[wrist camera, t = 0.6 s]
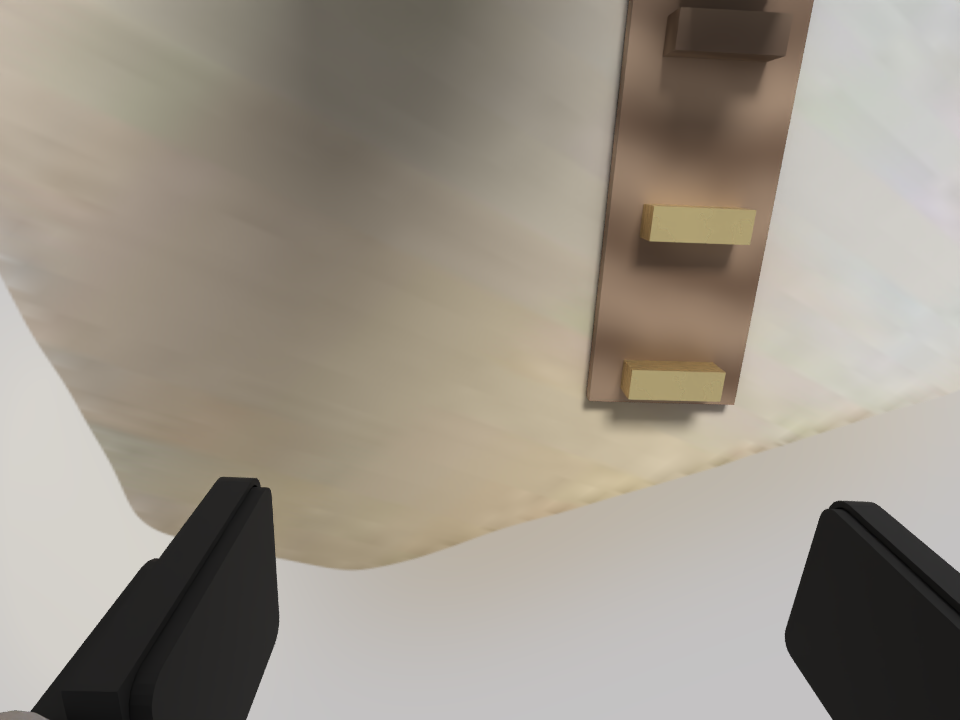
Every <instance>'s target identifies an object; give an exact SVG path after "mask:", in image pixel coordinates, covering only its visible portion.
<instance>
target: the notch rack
mask: <svg viewBox="0 0 960 720" xmlns="http://www.w3.org/2000/svg"><path fill="white" fill-rule="evenodd" d="M813 2H814V0H629V4H628V14H627V23H626V32H625V41H624V51H623V60H622V69H621V78H620V88H619V97H618V106H617V115H616V125H615V134H614V143H613V152H612V162H611V171H610V180H609V189H608V199H607V208H606V217H605V226H604V236H603V245H602V254H601V263H600V273H599V282H598V291H597V300H596V310H595V319H594V328H593V337H592V347H591V356H590V365H589V374H588V384H587V393H586V396H587V398H588V399H589V401H612V402H650V403H689V404H728V405H734V402H735V397H736V392H737V387H738V382H739V377H740V372H741V367H742V362H743V357H744V352H745V347H746V342H747V337H748V331H749V326H750V321H751V316H752V311H753V306H754V301H755V296H756V291H757V286H758V281H759V276H760V271H761V266H762V261H763V255H764V250H765V245H766V240H767V235H768V230H769V225H770V220H771V215H772V210H773V205H774V200H775V195H776V190H777V185H778V179H779V174H780V169H781V164H782V159H783V154H784V149H785V144H786V139H787V134H788V129H789V124H790V119H791V114H792V109H793V103H794V98H795V93H796V88H797V83H798V78H799V73H800V68H801V63H802V58H803V53H804V48H805V43H806V38H807V32H808V27H809V22H810V17H811V12H812V7H813Z"/></svg>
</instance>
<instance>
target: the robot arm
mask: <svg viewBox="0 0 960 720" xmlns="http://www.w3.org/2000/svg"><path fill="white" fill-rule="evenodd" d="M278 627H279V606H278V591H277V574H276V558H275V541H274V525H273V509H272V495H271V490H270V489H269V488H265V487H261V486H260V482H259V480H258V479H257V478H238V477H220V478H219V479H218V480H217V481H216V483H215V484H214V485H213V487H212V488H211V489H210V491H209V492H208V493H207V495H206V496H205V497H204V499H203V500H202V501H201V503H200V504H199V505H198V507H197V508H196V509H195V511H194V512H193V513H192V515H191V516H190V517H189V519H188V520H187V521H186V523H185V524H184V526H183V527H182V528H181V530H180V531H179V532H178V534H177V535H176V536H175V538H174V539H173V540H172V542H171V543H170V544H169V546H168V547H167V549H166V550H165V551H164V552H163V554H162V555H161V556H160V558H159V559H157V558H156V559H155V558H154V559H152V560H150V561H148V562H147V563H146V564H145V565H144V566H143V567H142V568H141V569H140V570H139V571H138V573H137V574H136V575H135V577H134V578H133V579H132V581H131V582H130V583H129V584H128V586H127V587H126V588H125V590H124V591H123V592H122V593H121V595H120V596H119V597H118V599H117V600H116V601H115V603H114V604H113V605H112V606H111V608H110V609H109V610H108V612H107V613H106V614H105V616H104V617H103V618H102V619H101V621H100V622H99V623H98V625H97V626H96V627H95V628H94V630H93V631H92V632H91V634H90V635H89V636H88V638H87V639H86V640H85V641H84V643H83V644H82V645H81V647H80V648H79V649H78V650H77V652H76V653H75V654H74V656H73V657H72V658H71V660H70V661H69V662H68V663H67V665H66V666H65V667H64V669H63V670H62V671H61V673H60V674H59V675H58V676H57V678H56V679H55V680H54V682H53V683H52V684H51V685H50V687H49V688H48V690H47V691H46V692H45V693H44V695H43V696H42V697H41V698H40V700H39V701H38V702H37V704H36V705H35V706H34V708H33V709H32V710H31V712H25V711H8V712H2V713H0V720H246V718H247V716H248V713H249V711H250V708H251V705H252V703H253V700H254V697H255V695H256V692H257V689H258V687H259V684H260V682H261V679H262V676H263V674H264V670H265V668H266V666H267V663H268V660H269V658H270V655H271V652H272V650H273V647H274V644H275V641H276V638H277V634H278ZM785 642H786V647H787V650H788V652H789V654H790V656H791V657H792V659H793V660H794V662H795V663H796V665H797V666H798V668H799V670H800V671H801V672H802V674H803V676H804V677H805V679H806V680H807V682H808V683H809V685H810V686H811V688H812V689H813V691H814V692H815V694H816V695H817V697H818V698H819V700H820V701H821V703H822V704H823V706H824V707H825V709H826V710H827V712H828V713H829V715H830V716H831V718H832V719H833V720H960V573H959V572H958V571H956V570H955V569H954V568H953V567H952V566H951V565H949V564H948V563H947V562H946V561H945V560H943V559H942V558H941V557H940V556H939V555H937V554H936V553H935V552H934V551H932V550H931V549H930V548H929V547H928V546H927V545H925V544H924V543H923V542H922V541H920V540H919V539H918V538H917V537H916V536H915V535H913V534H912V533H911V532H910V531H909V530H907V529H906V528H905V527H904V526H903V525H901V524H900V523H899V522H898V521H897V520H896V519H894V518H893V517H892V516H891V515H889V514H888V513H887V512H886V511H885V510H884V509H882V508H881V507H880V506H878V505H877V504H875V503H872V502H855V501H836V502H834V503H833V504H832V505H831V506H830V507H829V509H826V510H824V511H823V512H822V514H821V516H820V518H819V521H818V525H817V528H816V531H815V534H814V538H813V541H812V544H811V548H810V551H809V554H808V558H807V561H806V564H805V568H804V571H803V574H802V577H801V581H800V584H799V587H798V590H797V594H796V597H795V600H794V604H793V608H792V610H791V614H790V617H789V620H788V624H787V627H786V630H785Z"/></svg>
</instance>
